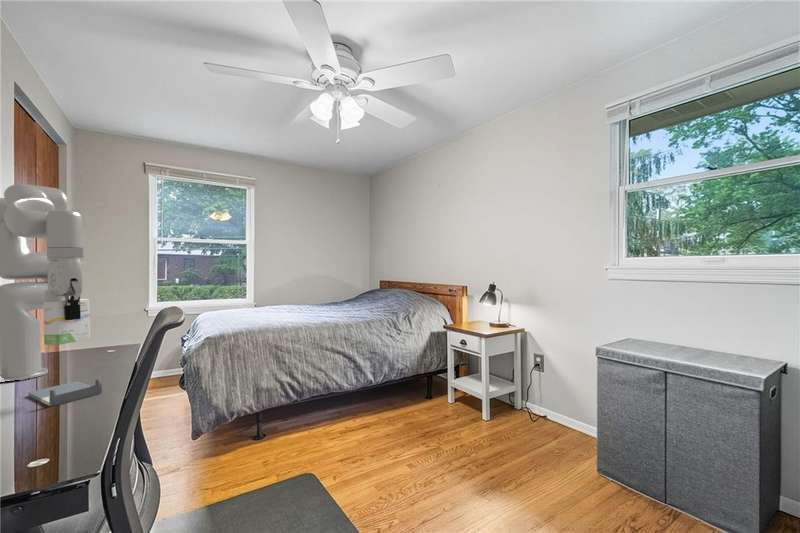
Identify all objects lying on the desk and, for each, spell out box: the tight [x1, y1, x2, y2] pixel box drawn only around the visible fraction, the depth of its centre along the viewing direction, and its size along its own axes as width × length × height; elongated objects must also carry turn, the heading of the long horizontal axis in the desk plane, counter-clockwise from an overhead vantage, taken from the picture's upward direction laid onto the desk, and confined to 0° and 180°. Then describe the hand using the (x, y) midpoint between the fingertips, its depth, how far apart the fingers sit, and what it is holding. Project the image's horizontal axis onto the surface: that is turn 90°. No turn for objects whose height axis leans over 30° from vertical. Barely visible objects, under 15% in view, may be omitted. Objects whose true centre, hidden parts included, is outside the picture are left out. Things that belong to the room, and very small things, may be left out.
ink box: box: [43, 290, 91, 346], centre depth 100 cm, size 9×5×15 cm, turn 168°
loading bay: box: [27, 378, 103, 407], centre depth 102 cm, size 17×11×4 cm, turn 60°
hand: (67, 318), depth 100 cm, fingers closed on ink box, 6 cm apart
